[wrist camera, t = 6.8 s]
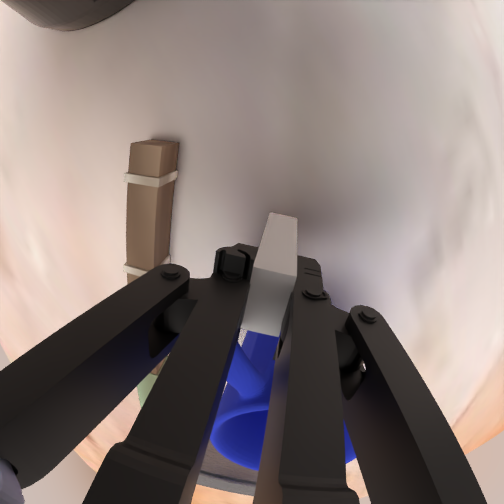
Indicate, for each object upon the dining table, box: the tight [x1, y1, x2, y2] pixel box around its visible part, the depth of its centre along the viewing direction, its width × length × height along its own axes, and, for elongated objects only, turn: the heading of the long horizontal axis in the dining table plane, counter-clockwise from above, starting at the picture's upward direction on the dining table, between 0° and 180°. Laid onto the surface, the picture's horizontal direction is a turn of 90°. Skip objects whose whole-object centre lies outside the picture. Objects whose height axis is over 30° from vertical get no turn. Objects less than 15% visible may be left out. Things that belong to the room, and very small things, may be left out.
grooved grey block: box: [196, 439, 258, 496], centre depth 27 cm, size 16×5×6 cm, turn 80°
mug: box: [210, 330, 356, 471], centre depth 16 cm, size 8×12×10 cm
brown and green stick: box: [123, 140, 179, 408], centre depth 22 cm, size 2×30×3 cm, turn 169°
